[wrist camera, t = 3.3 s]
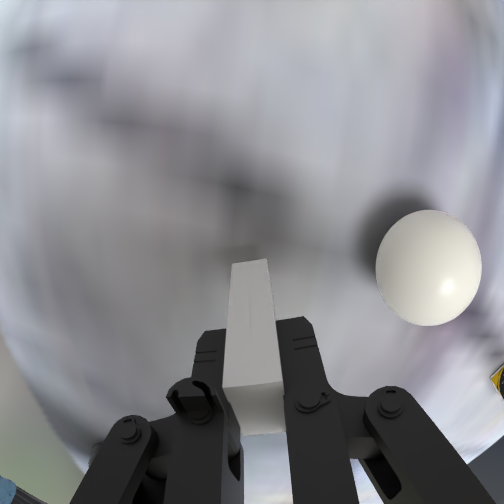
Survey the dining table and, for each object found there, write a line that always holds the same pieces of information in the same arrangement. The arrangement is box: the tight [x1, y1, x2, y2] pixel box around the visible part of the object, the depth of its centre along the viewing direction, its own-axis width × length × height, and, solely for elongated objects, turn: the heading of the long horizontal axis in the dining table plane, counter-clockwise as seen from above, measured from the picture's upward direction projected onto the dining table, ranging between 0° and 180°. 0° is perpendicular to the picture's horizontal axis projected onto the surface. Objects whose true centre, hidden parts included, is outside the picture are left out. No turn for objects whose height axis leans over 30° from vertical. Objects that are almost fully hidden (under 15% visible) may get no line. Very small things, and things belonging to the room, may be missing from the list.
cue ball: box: [376, 210, 482, 326], centre depth 12 cm, size 6×6×6 cm
